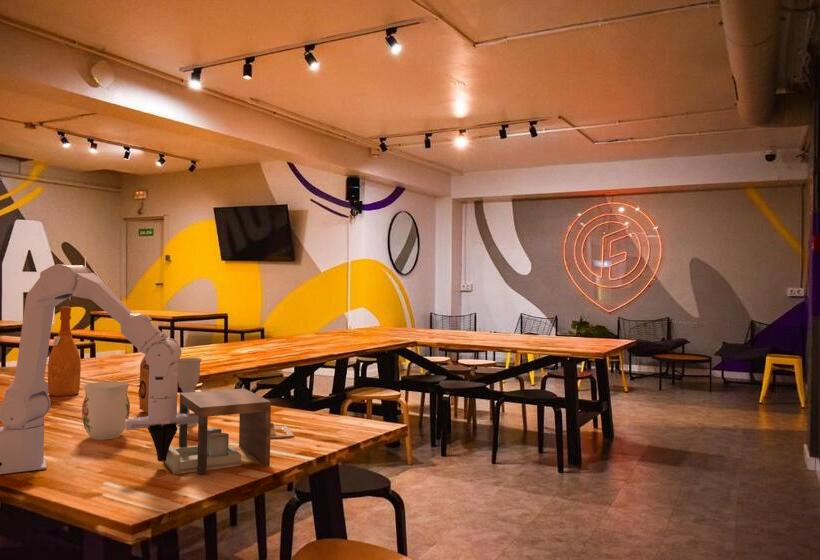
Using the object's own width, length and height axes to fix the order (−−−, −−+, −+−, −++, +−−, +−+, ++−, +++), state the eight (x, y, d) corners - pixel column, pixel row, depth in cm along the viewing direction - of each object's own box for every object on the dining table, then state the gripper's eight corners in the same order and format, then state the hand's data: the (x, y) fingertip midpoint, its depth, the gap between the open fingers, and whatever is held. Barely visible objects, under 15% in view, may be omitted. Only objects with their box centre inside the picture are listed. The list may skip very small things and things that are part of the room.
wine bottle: (51, 392, 224) (52, 305, 224) (82, 391, 226) (84, 305, 227) (44, 397, 214) (46, 306, 214) (77, 396, 217) (78, 306, 217)
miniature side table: (199, 475, 132) (200, 407, 132) (178, 453, 149) (179, 393, 149) (269, 466, 140) (270, 401, 140) (243, 446, 156) (244, 388, 157)
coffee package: (145, 418, 185) (147, 341, 185) (135, 411, 195) (137, 338, 195) (181, 415, 190) (182, 340, 191) (169, 408, 201) (171, 337, 201)
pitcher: (121, 426, 175) (122, 375, 175) (135, 440, 160) (136, 385, 160) (76, 431, 169) (77, 378, 169) (86, 446, 154) (87, 388, 154)
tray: (173, 474, 133) (174, 443, 133) (162, 460, 144) (162, 431, 144) (241, 465, 141) (241, 436, 141) (225, 453, 151) (226, 425, 151)
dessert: (241, 432, 173) (241, 414, 173) (286, 429, 177) (286, 411, 177) (246, 443, 162) (246, 424, 162) (294, 439, 166) (294, 421, 166)
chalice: (191, 428, 173) (193, 361, 174) (168, 427, 175) (170, 360, 175) (205, 423, 181) (206, 358, 181) (183, 421, 182) (184, 357, 182)
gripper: (129, 402, 130) (127, 469, 130) (202, 396, 138) (201, 460, 138) (123, 396, 136) (122, 461, 136) (194, 391, 144) (193, 452, 144)
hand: (161, 460), depth 138 cm, fingers closed
